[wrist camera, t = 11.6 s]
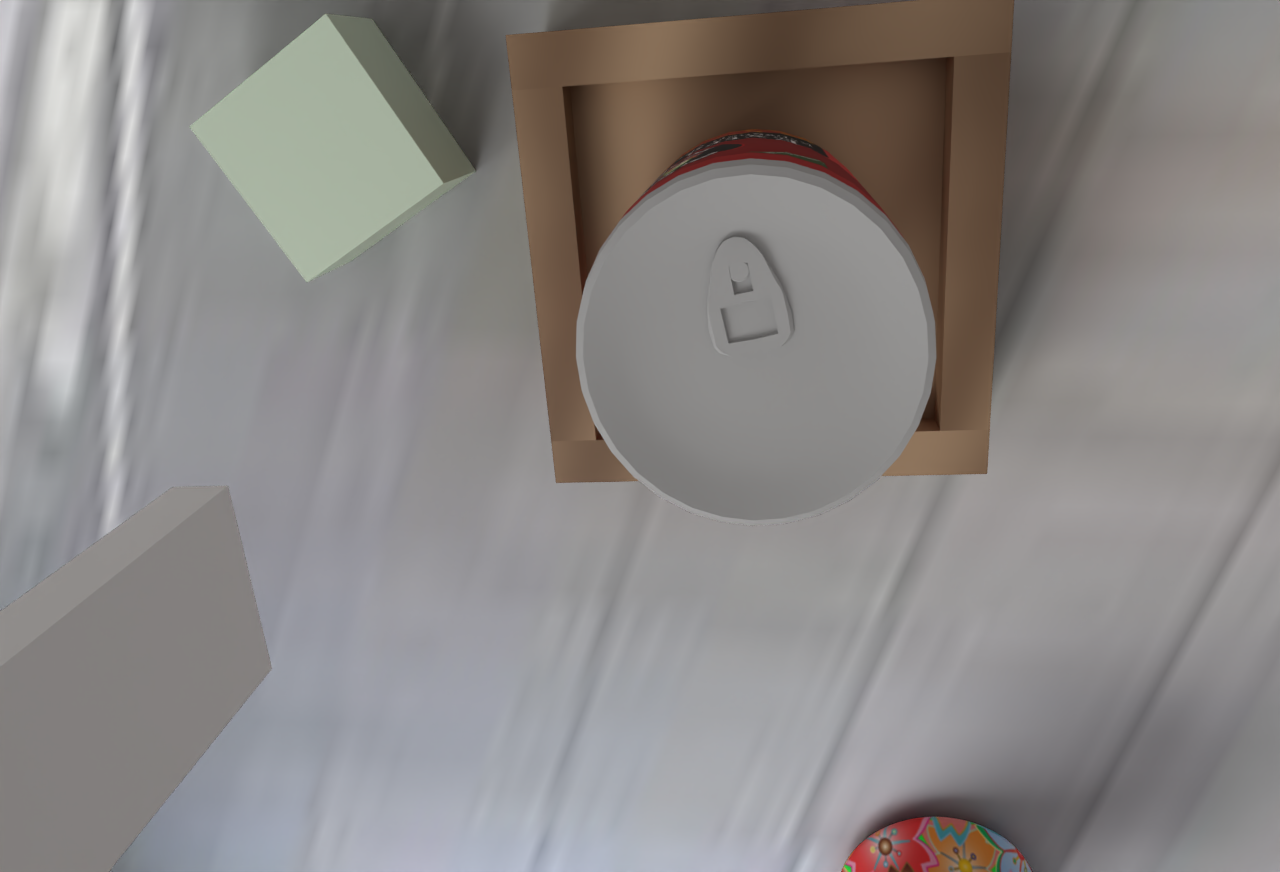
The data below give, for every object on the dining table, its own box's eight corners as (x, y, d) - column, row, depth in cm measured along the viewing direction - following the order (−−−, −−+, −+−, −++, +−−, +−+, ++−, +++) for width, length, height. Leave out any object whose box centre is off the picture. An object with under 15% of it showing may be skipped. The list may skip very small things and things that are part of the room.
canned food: (811, 77, 28) (839, 86, 18) (922, 314, 30) (1003, 441, 20) (587, 204, 30) (500, 275, 20) (706, 417, 33) (681, 580, 22)
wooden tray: (582, 428, 38) (555, 482, 33) (543, 39, 33) (505, 34, 28) (956, 418, 36) (987, 473, 31) (974, 2, 31) (1014, -8, 26)
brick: (353, 260, 36) (306, 282, 33) (249, 120, 35) (189, 126, 31) (477, 170, 35) (443, 183, 31) (374, 19, 33) (325, 13, 30)
